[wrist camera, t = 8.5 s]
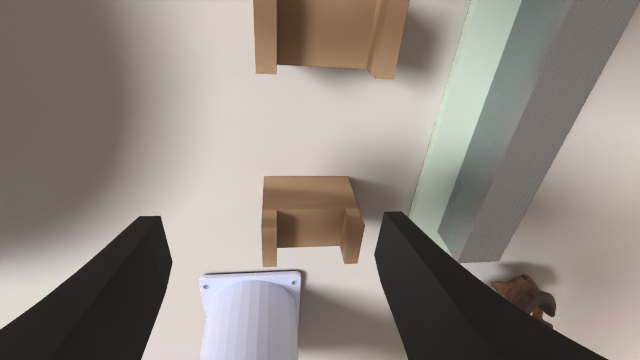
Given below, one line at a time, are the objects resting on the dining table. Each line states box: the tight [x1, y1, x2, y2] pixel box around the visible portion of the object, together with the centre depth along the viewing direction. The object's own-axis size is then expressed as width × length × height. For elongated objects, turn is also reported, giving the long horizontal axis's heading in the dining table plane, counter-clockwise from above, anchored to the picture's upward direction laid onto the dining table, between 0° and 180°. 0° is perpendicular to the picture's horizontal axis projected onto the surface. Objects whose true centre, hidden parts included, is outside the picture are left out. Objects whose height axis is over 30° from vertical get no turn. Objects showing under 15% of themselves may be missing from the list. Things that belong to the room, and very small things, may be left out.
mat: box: [408, 0, 522, 252], centre depth 21 cm, size 20×8×1 cm, turn 176°
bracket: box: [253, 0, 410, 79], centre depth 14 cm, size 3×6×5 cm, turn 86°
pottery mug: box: [491, 274, 556, 329], centre depth 30 cm, size 12×10×8 cm
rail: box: [437, 0, 640, 263], centre depth 19 cm, size 18×3×3 cm
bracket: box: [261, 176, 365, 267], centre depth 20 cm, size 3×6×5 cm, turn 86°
